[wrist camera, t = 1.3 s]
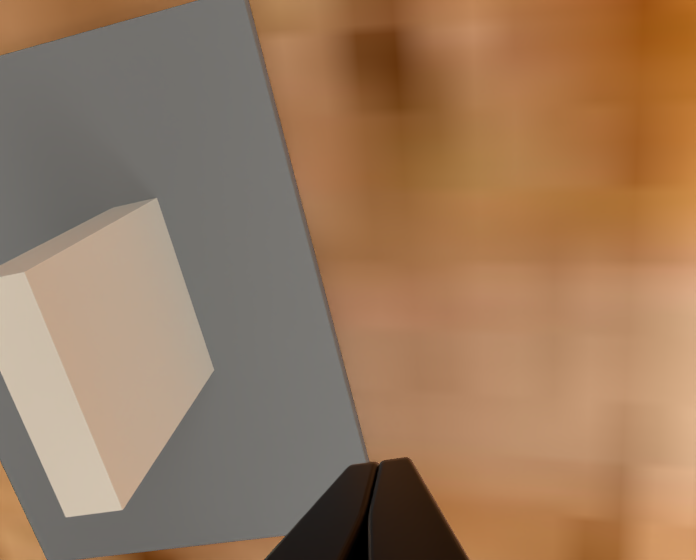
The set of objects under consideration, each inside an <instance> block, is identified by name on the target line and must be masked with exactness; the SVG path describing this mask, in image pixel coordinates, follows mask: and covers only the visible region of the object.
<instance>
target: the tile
mask: <svg viewBox="0 0 696 560" xmlns="http://www.w3.org/2000/svg"><path fill="white" fill-rule="evenodd" d="M213 371H214V368H213V365H212V362H211V359H210V356H209V353H208V350H207V347H206V344H205V341H204V338H203V335H202V332H201V329H200V326H199V323H198V320H197V317H196V314H195V311H194V308H193V305H192V302H191V299H190V296H189V293H188V290H187V287H186V284H185V281H184V278H183V275H182V272H181V269H180V266H179V263H178V260H177V257H176V254H175V251H174V248H173V245H172V242H171V239H170V236H169V233H168V230H167V227H166V224H165V221H164V218H163V215H162V212H161V209H160V206H159V203H158V200H157V198H154V199H149V200H145V201H140V202H136V203H131V204H127V205H122V206H118V207H113V208H111V209H109V210H107V211H105V212H103V213H101V214H99V215H97V216H95V217H94V218H92V219H90V220H88V221H86V222H84V223H82V224H80V225H78V226H76V227H74V228H72V229H70V230H68V231H66V232H64V233H62V234H60V235H58V236H56V237H54V238H53V239H51V240H49V241H47V242H45V243H43V244H41V245H39V246H37V247H35V248H33V249H31V250H29V251H27V252H25V253H23V254H21V255H19V256H17V257H15V258H13V259H12V260H10V261H8V262H6V263H4V264H2V265H0V372H1V374H2V376H3V379H4V381H5V383H6V385H7V387H8V390H9V392H10V394H11V396H12V399H13V401H14V403H15V405H16V408H17V410H18V412H19V414H20V416H21V419H22V421H23V423H24V425H25V428H26V430H27V432H28V434H29V436H30V439H31V441H32V443H33V445H34V448H35V450H36V452H37V454H38V457H39V459H40V461H41V463H42V465H43V468H44V470H45V472H46V474H47V477H48V479H49V481H50V483H51V486H52V488H53V490H54V492H55V494H56V497H57V499H58V501H59V503H60V506H61V508H62V510H63V512H64V515H65V517H73V516H81V515H89V514H96V513H104V512H112V511H120V510H123V509H124V507H125V506H126V504H127V503H128V501H129V500H130V498H131V497H132V495H133V494H134V492H135V491H136V489H137V488H138V486H139V484H140V483H141V481H142V480H143V478H144V477H145V475H146V474H147V472H148V471H149V469H150V468H151V466H152V465H153V463H154V461H155V460H156V458H157V457H158V455H159V454H160V452H161V451H162V449H163V448H164V446H165V445H166V443H167V442H168V440H169V439H170V437H171V435H172V434H173V432H174V431H175V429H176V428H177V426H178V425H179V423H180V422H181V420H182V419H183V417H184V416H185V414H186V412H187V411H188V409H189V408H190V406H191V405H192V403H193V402H194V400H195V399H196V397H197V396H198V394H199V393H200V391H201V389H202V388H203V386H204V385H205V383H206V382H207V380H208V379H209V377H210V376H211V374H212V373H213Z"/></svg>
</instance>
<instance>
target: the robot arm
mask: <svg viewBox="0 0 696 560" xmlns="http://www.w3.org/2000/svg"><path fill="white" fill-rule="evenodd" d="M264 560H469V558H468V556H467V555H466V553H465V551H464V549H463V548H462V546H461V544H460V543H459V541H458V539H457V537H456V536H455V534H454V532H453V531H452V529H451V527H450V525H449V524H448V522H447V520H446V519H445V517H444V515H443V513H442V512H441V510H440V508H439V507H438V505H437V503H436V501H435V500H434V498H433V496H432V495H431V493H430V491H429V489H428V488H427V486H426V484H425V483H424V481H423V479H422V477H421V476H420V474H419V472H418V471H417V469H416V467H415V465H414V464H413V462H412V460H411V459H409V458H407V457H404V458H397V459H390V460H384V461H382V462H381V463H380V465H379V464H378V463H377V462H367V463H360V464H352V465H350V466H348V467H347V468H346V469H345V470H344V471H343V472H342V474H341V475H340V476H339V477H338V478H337V479H336V480H335V481H334V483H333V484H332V485H331V486H330V487H329V488H328V489H327V490H326V491H325V493H324V494H323V495H322V496H321V497H320V498H319V499H318V500H317V501H316V503H315V504H314V505H313V506H312V507H311V508H310V509H309V510H308V511H307V513H306V514H305V515H304V516H303V517H302V518H301V519H300V520H299V521H298V523H297V524H296V525H295V526H294V527H293V528H292V529H291V530H290V532H289V533H288V534H287V535H286V536H285V537H284V538H283V539H282V540H281V542H280V543H279V544H278V545H277V546H276V547H275V548H274V549H273V550H272V552H271V553H270V554H269V555H268V556H267V557H266V558H265V559H264Z"/></svg>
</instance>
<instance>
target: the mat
mask: <svg viewBox="0 0 696 560" xmlns="http://www.w3.org/2000/svg"><path fill="white" fill-rule="evenodd" d="M154 198H157V200H158V203H159V206H160V209H161V212H162V215H163V218H164V221H165V224H166V227H167V230H168V233H169V236H170V239H171V242H172V245H173V248H174V251H175V254H176V257H177V260H178V263H179V266H180V269H181V272H182V275H183V278H184V281H185V284H186V287H187V290H188V293H189V296H190V299H191V302H192V305H193V308H194V311H195V314H196V317H197V320H198V323H199V326H200V329H201V332H202V335H203V338H204V341H205V344H206V347H207V350H208V353H209V356H210V359H211V362H212V365H213V368H214V371H213V373H212V374H211V376H210V377H209V379H208V380H207V382H206V383H205V385H204V386H203V388H202V389H201V391H200V393H199V394H198V396H197V397H196V399H195V400H194V402H193V403H192V405H191V406H190V408H189V409H188V411H187V412H186V414H185V416H184V417H183V419H182V420H181V422H180V423H179V425H178V426H177V428H176V429H175V431H174V432H173V434H172V435H171V437H170V439H169V440H168V442H167V443H166V445H165V446H164V448H163V449H162V451H161V452H160V454H159V455H158V457H157V458H156V460H155V461H154V463H153V465H152V466H151V468H150V469H149V471H148V472H147V474H146V475H145V477H144V478H143V480H142V481H141V483H140V484H139V486H138V488H137V489H136V491H135V492H134V494H133V495H132V497H131V498H130V500H129V501H128V503H127V504H126V506H125V507H124V509H123V510H120V511H112V512H104V513H96V514H89V515H81V516H73V517H65V515H64V512H63V510H62V508H61V506H60V503H59V501H58V499H57V497H56V494H55V492H54V490H53V488H52V486H51V483H50V481H49V479H48V477H47V474H46V472H45V470H44V468H43V465H42V463H41V461H40V459H39V457H38V454H37V452H36V450H35V448H34V445H33V443H32V441H31V439H30V436H29V434H28V432H27V430H26V428H25V425H24V423H23V421H22V419H21V416H20V414H19V412H18V410H17V408H16V405H15V403H14V401H13V399H12V396H11V394H10V392H9V390H8V387H7V385H6V383H5V381H4V379H3V376H2V374H1V372H0V461H1V463H2V465H3V468H4V470H5V472H6V474H7V476H8V478H9V480H10V482H11V485H12V487H13V489H14V491H15V493H16V495H17V497H18V499H19V502H20V504H21V506H22V508H23V510H24V512H25V514H26V516H27V519H28V521H29V523H30V525H31V527H32V529H33V531H34V533H35V536H36V538H37V540H38V542H39V544H40V546H41V548H42V550H43V552H44V555H45V557H46V559H47V560H77V559H86V558H94V557H103V556H112V555H120V554H129V553H138V552H147V551H155V550H164V549H173V548H181V547H190V546H199V545H207V544H216V543H225V542H233V541H242V540H251V539H259V538H268V537H277V536H285V535H287V534H288V533H289V532H290V530H291V529H292V528H293V527H294V526H295V525H296V524H297V523H298V521H299V520H300V519H301V518H302V517H303V516H304V515H305V514H306V513H307V511H308V510H309V509H310V508H311V507H312V506H313V505H314V504H315V503H316V501H317V500H318V499H319V498H320V497H321V496H322V495H323V494H324V493H325V491H326V490H327V489H328V488H329V487H330V486H331V485H332V484H333V483H334V481H335V480H336V479H337V478H338V477H339V476H340V475H341V474H342V472H343V471H344V470H345V469H346V468H347V467H348V466H350V465H352V464H360V463H367V462H369V458H368V455H367V451H366V447H365V443H364V439H363V436H362V432H361V428H360V424H359V420H358V416H357V413H356V409H355V405H354V401H353V397H352V394H351V390H350V386H349V382H348V378H347V375H346V371H345V367H344V363H343V359H342V355H341V352H340V348H339V344H338V340H337V336H336V333H335V329H334V325H333V321H332V317H331V313H330V310H329V306H328V302H327V298H326V294H325V291H324V287H323V283H322V279H321V275H320V272H319V268H318V264H317V260H316V256H315V252H314V249H313V245H312V241H311V237H310V233H309V230H308V226H307V222H306V218H305V214H304V210H303V207H302V203H301V199H300V195H299V191H298V188H297V184H296V180H295V176H294V172H293V169H292V165H291V161H290V157H289V153H288V149H287V146H286V142H285V138H284V134H283V130H282V127H281V123H280V119H279V115H278V111H277V107H276V104H275V100H274V96H273V92H272V88H271V85H270V81H269V77H268V73H267V69H266V66H265V62H264V58H263V54H262V50H261V46H260V43H259V39H258V35H257V31H256V27H255V24H254V20H253V16H252V12H251V8H250V4H249V1H248V0H198V1H194V2H190V3H187V4H183V5H180V6H176V7H173V8H169V9H165V10H162V11H158V12H155V13H151V14H148V15H144V16H140V17H137V18H133V19H130V20H126V21H123V22H119V23H115V24H112V25H108V26H105V27H101V28H98V29H94V30H90V31H87V32H83V33H80V34H76V35H73V36H69V37H65V38H62V39H58V40H55V41H51V42H48V43H44V44H40V45H37V46H33V47H30V48H26V49H23V50H19V51H15V52H12V53H8V54H5V55H1V56H0V265H2V264H4V263H6V262H8V261H10V260H12V259H13V258H15V257H17V256H19V255H21V254H23V253H25V252H27V251H29V250H31V249H33V248H35V247H37V246H39V245H41V244H43V243H45V242H47V241H49V240H51V239H53V238H54V237H56V236H58V235H60V234H62V233H64V232H66V231H68V230H70V229H72V228H74V227H76V226H78V225H80V224H82V223H84V222H86V221H88V220H90V219H92V218H94V217H95V216H97V215H99V214H101V213H103V212H105V211H107V210H109V209H111V208H113V207H118V206H122V205H127V204H131V203H136V202H140V201H145V200H149V199H154Z"/></svg>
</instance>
